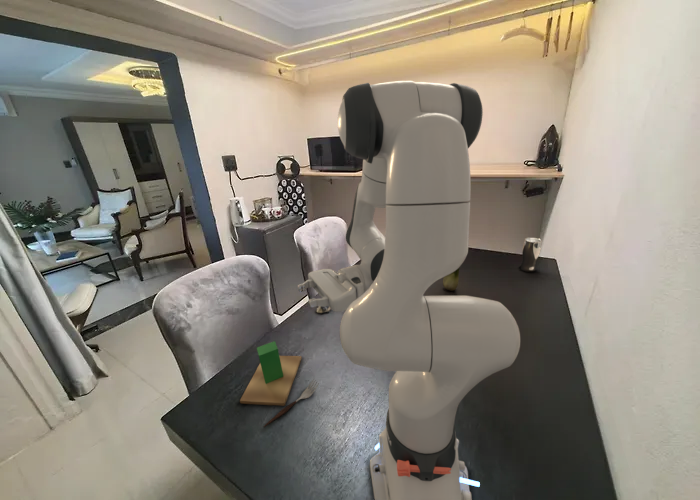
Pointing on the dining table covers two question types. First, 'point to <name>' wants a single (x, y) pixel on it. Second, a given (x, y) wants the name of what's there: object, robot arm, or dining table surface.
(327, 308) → the tan grey flat shell
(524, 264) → the beer glass
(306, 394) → the fork
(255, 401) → the board
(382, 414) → the dining table surface
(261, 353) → the brick
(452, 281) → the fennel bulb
